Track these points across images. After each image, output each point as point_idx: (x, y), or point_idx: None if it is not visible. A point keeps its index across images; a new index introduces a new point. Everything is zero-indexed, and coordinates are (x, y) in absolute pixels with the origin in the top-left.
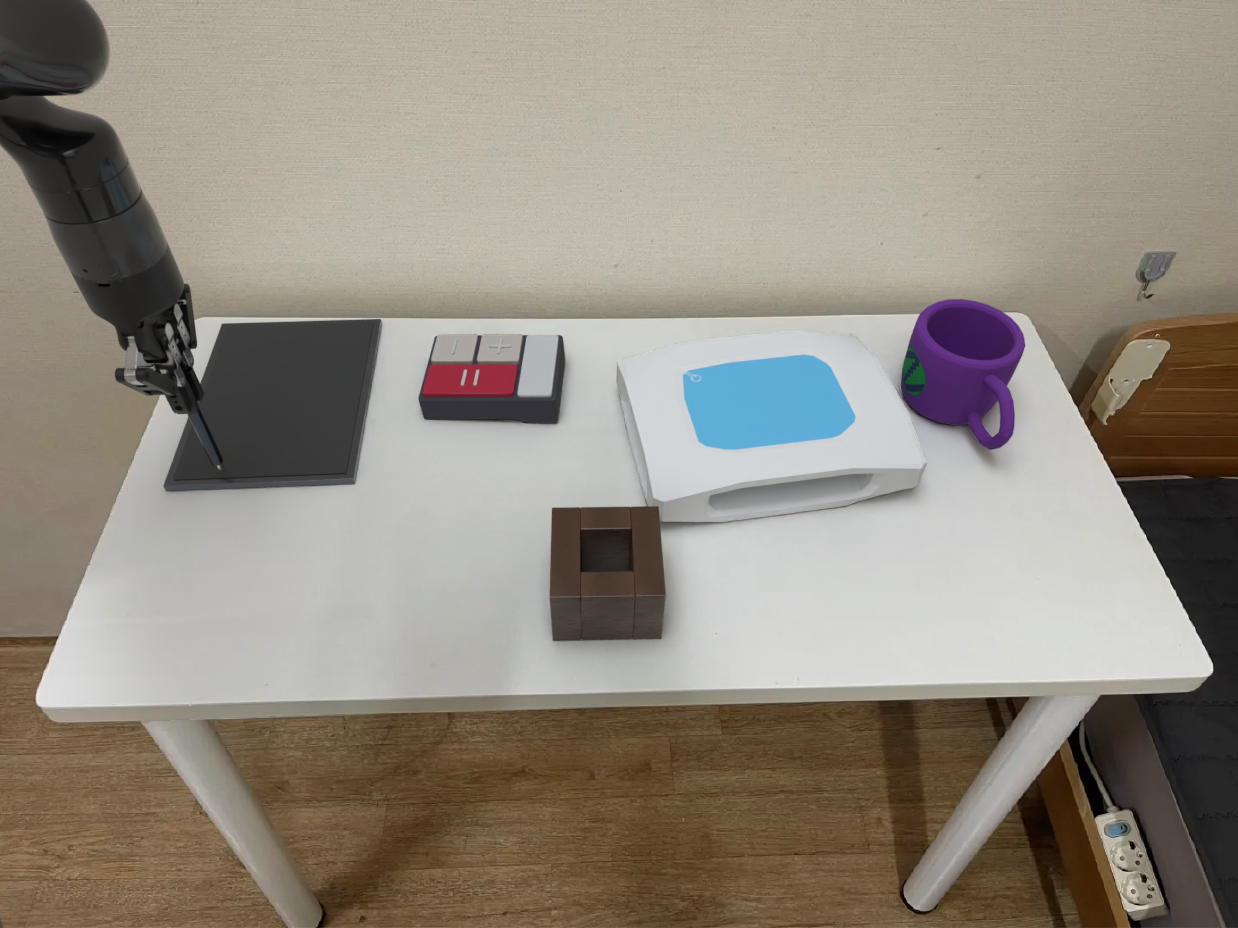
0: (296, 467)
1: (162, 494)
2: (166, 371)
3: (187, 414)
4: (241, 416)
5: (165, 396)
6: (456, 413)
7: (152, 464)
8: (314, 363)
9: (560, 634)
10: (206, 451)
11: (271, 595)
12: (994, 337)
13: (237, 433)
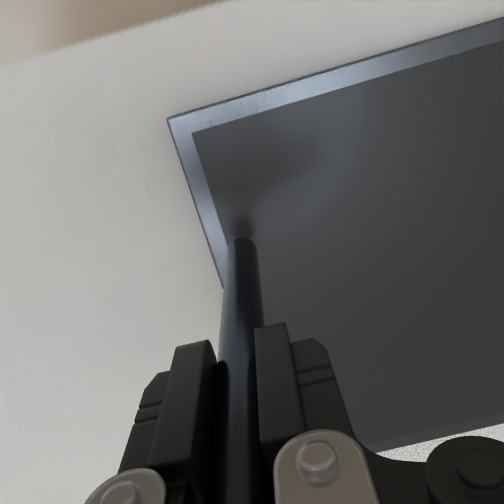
0: None
1: (159, 113)
2: (266, 440)
3: (224, 331)
4: (429, 191)
5: (124, 455)
6: None
7: (243, 26)
8: None
9: None
10: (225, 269)
11: (12, 435)
12: None
13: (370, 210)
